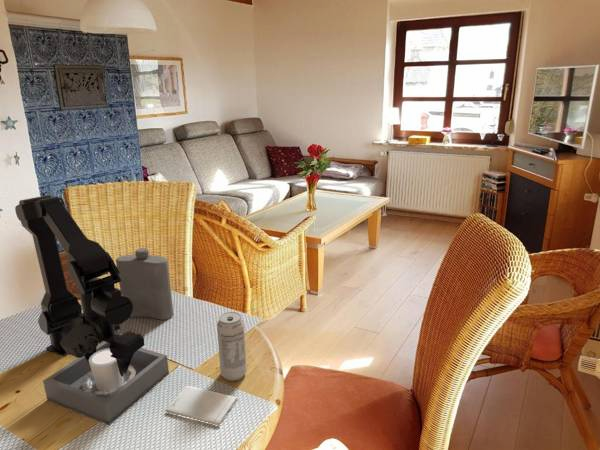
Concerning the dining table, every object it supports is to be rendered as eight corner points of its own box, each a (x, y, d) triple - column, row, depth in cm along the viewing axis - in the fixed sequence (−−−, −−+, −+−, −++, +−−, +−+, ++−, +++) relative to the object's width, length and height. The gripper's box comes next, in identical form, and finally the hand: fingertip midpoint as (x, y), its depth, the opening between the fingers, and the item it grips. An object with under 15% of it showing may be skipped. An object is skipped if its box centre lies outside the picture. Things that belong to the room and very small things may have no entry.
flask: (177, 311, 135) (170, 247, 129) (168, 321, 130) (161, 255, 124) (131, 307, 138) (122, 245, 132) (120, 316, 132) (110, 252, 126)
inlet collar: (71, 391, 100) (70, 385, 100) (110, 363, 110) (110, 358, 109) (109, 405, 96) (108, 399, 95) (146, 375, 105) (145, 370, 105)
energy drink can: (246, 365, 110) (243, 309, 105) (247, 381, 104) (244, 323, 99) (221, 367, 109) (216, 311, 104) (220, 383, 103) (216, 325, 99)
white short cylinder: (132, 378, 104) (128, 351, 102) (109, 396, 98) (104, 369, 96) (110, 370, 107) (106, 344, 105) (86, 388, 101) (81, 361, 99)
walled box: (47, 400, 99) (42, 380, 97) (111, 355, 114) (108, 337, 113) (109, 425, 92) (105, 404, 90) (169, 373, 107) (166, 355, 105)
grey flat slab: (165, 409, 94) (219, 422, 90) (187, 384, 102) (237, 395, 98) (166, 415, 95) (219, 429, 91) (187, 390, 102) (238, 402, 98)
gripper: (32, 315, 93) (46, 380, 98) (99, 336, 86) (110, 404, 91) (78, 292, 103) (88, 352, 108) (141, 309, 95) (150, 372, 100)
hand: (107, 370), depth 102 cm, fingers open, 9 cm apart
